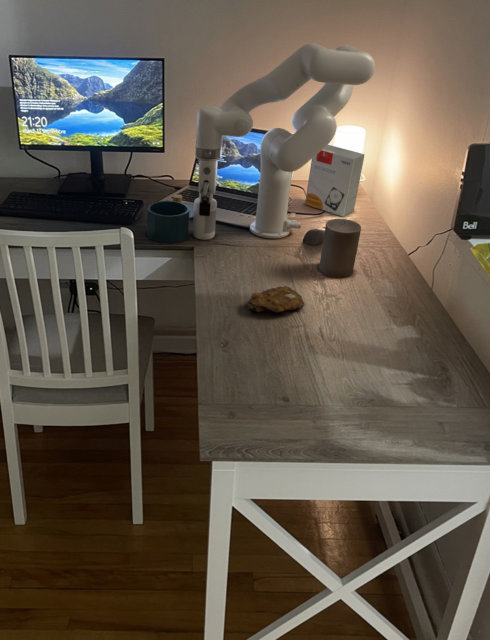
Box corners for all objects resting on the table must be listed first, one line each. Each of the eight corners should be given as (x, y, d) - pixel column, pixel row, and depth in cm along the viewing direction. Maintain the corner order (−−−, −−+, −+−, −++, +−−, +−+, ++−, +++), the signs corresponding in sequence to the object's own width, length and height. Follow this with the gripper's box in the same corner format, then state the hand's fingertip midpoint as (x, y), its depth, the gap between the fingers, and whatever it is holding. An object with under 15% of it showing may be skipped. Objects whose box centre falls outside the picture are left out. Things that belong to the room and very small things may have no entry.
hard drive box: (303, 205, 235) (311, 147, 224) (315, 199, 239) (323, 142, 229) (343, 217, 226) (354, 158, 215) (355, 211, 231) (365, 153, 220)
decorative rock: (264, 326, 166) (310, 313, 173) (267, 312, 164) (313, 299, 171) (237, 303, 174) (282, 291, 181) (239, 289, 171) (285, 278, 179)
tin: (189, 227, 215) (190, 202, 210) (186, 244, 204) (187, 217, 199) (150, 225, 215) (150, 199, 211) (145, 241, 205) (145, 214, 200)
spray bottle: (214, 240, 207) (218, 183, 197) (192, 239, 207) (195, 182, 197) (214, 231, 213) (218, 175, 203) (192, 230, 213) (195, 174, 203)
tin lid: (198, 207, 229) (199, 190, 226) (196, 223, 218) (197, 205, 214) (158, 204, 230) (159, 187, 227) (154, 220, 218) (154, 202, 215)
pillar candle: (359, 270, 193) (369, 221, 185) (341, 281, 187) (350, 231, 179) (330, 259, 198) (338, 211, 190) (311, 269, 192) (319, 220, 184)
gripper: (220, 162, 188) (216, 222, 198) (222, 144, 203) (218, 201, 213) (193, 160, 189) (190, 221, 198) (197, 142, 203) (194, 199, 213)
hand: (205, 210), depth 205 cm, fingers closed on spray bottle, 6 cm apart
